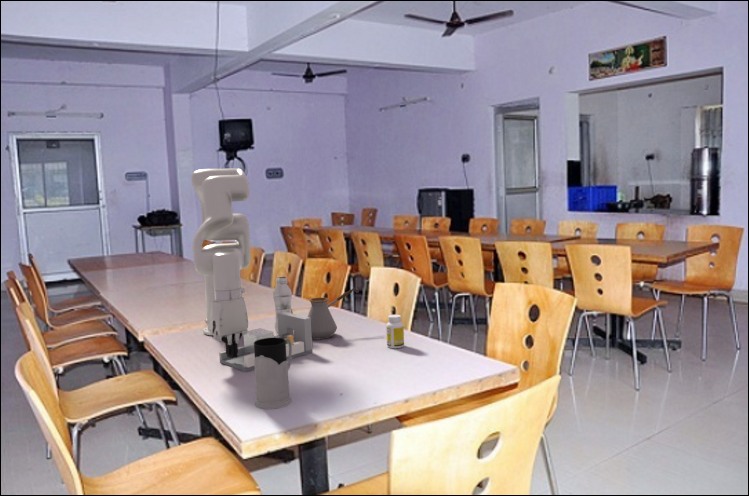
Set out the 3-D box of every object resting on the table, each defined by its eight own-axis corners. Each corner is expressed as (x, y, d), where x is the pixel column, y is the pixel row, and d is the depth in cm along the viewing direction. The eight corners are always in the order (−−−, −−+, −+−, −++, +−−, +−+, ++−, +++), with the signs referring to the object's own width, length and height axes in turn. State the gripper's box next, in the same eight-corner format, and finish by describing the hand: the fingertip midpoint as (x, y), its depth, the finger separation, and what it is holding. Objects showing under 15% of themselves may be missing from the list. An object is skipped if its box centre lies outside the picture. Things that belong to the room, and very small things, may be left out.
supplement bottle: (406, 344, 191) (405, 314, 190) (400, 349, 186) (399, 318, 185) (391, 343, 193) (390, 313, 192) (384, 348, 188) (383, 317, 187)
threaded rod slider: (244, 354, 182) (243, 332, 181) (282, 344, 191) (281, 323, 191) (265, 361, 174) (264, 338, 173) (304, 350, 184) (302, 328, 183)
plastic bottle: (290, 336, 206) (287, 279, 203) (272, 336, 207) (268, 279, 205) (297, 332, 212) (294, 276, 210) (278, 331, 213) (275, 276, 211)
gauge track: (219, 362, 179) (217, 326, 178) (285, 344, 196) (283, 311, 195) (245, 371, 169) (243, 333, 168) (312, 352, 186) (310, 317, 185)
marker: (287, 343, 181) (287, 335, 181) (290, 342, 182) (290, 335, 182) (290, 343, 180) (289, 336, 180) (293, 342, 181) (293, 335, 181)
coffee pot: (313, 342, 197) (311, 297, 196) (297, 336, 207) (295, 293, 205) (367, 331, 209) (366, 289, 207) (350, 325, 219) (348, 285, 217)
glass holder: (247, 407, 143) (243, 345, 141) (277, 387, 156) (274, 330, 154) (280, 410, 139) (276, 347, 138) (308, 390, 153) (305, 332, 151)
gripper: (243, 289, 180) (247, 348, 183) (197, 297, 170) (202, 360, 172) (257, 292, 175) (261, 353, 177) (211, 300, 165) (215, 365, 167)
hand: (232, 356), depth 175 cm, fingers closed
